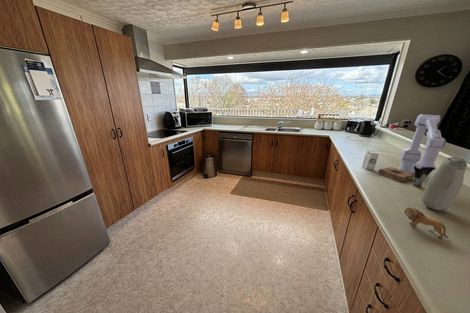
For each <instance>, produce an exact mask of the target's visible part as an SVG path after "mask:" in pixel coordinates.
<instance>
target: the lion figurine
mask: <svg viewBox="0 0 470 313" xmlns="http://www.w3.org/2000/svg"><path fill="white" fill-rule="evenodd" d="M403 213H404V215H405V216H406V217H407V219H408V220H411V222H409V225H410V227H411V229H416V228H417V226H418V224H421V225H424V226H429V227H431V226H432V227H433V229H428V231H429V232H430V233H434V232H436V233H437V234H438V235H439V236H438V235H437V238H438V239H439V240H443V238H444V237H445V238H447V239H448V238H449V237H448V235H446V232H447V228H446V225H445V224H444V223H443V222H442V221H440V220H438V219H436V218H431V217H428V216H425V214H424V213H423V212H421V211H420V210H419V209H418V208H415V207H413V206H407V207H405V210H404V211H403ZM442 229H443V230H442Z"/></svg>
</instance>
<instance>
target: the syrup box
mask: <svg viewBox="0 0 470 313" xmlns="http://www.w3.org/2000/svg"><path fill="white" fill-rule="evenodd" d="M379 155H380V152H379V151H376V150H367V151H366V153H365V155H364V159H363V162H362V166H361V167H362V168H363V169H365V170H371V171H373V170H374V169H375V167H376V164H377V162H378V159H379Z"/></svg>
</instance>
